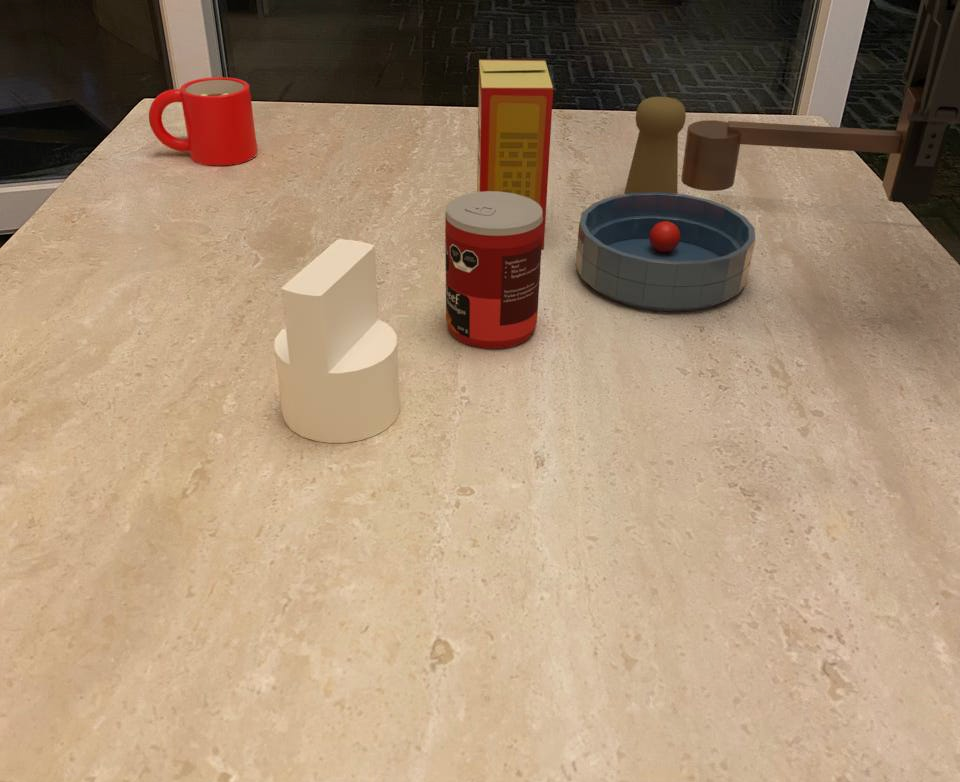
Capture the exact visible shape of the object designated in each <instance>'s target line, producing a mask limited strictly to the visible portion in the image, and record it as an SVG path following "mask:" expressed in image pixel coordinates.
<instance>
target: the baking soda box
mask: <svg viewBox="0 0 960 782" xmlns="http://www.w3.org/2000/svg"><path fill="white" fill-rule="evenodd" d="M553 100H554V85H553V83H552V79H551V76H550V73H549V69H548V65H547V61H546V59H487V58H486V59H481V58H480V59H478V101H477V103H478V105H477V107H478V108H477V110H478V111H477V117H478V118H477V162H476V163H477V167H476V168H477V169H476V172H477V173H476V176H477V178H476V192H485V191H498V192H508V193H513V194H518V195H521V196H524V197H527V198H530V199H532V200H533V201H535V202H537V203H538V204H539V205H540V206H541V208H542V212H543V214H542V215H543V233H542V249H541V250H544V249H545V233H546V232H545V231H546V218H547V201H548V184H549V169H550V167H549V166H550V150H551V135H552V133H551V132H552V119H553V118H552V117H553V116H552V115H553V114H552V113H553V103H554V101H553Z"/></svg>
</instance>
